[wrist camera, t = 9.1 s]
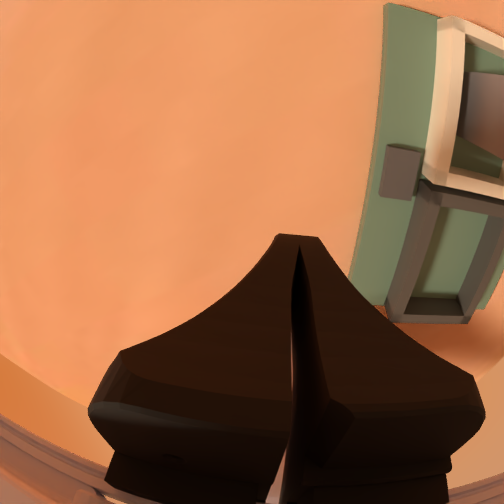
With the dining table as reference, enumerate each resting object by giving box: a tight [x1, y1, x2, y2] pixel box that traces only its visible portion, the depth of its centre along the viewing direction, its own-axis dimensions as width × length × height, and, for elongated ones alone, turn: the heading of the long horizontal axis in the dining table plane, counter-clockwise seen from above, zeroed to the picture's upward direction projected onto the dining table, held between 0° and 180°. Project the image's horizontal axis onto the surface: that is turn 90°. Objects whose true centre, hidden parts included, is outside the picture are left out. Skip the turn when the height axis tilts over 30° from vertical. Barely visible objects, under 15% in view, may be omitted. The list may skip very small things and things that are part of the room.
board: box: [348, 3, 504, 324], centre depth 15 cm, size 20×13×3 cm, turn 178°
